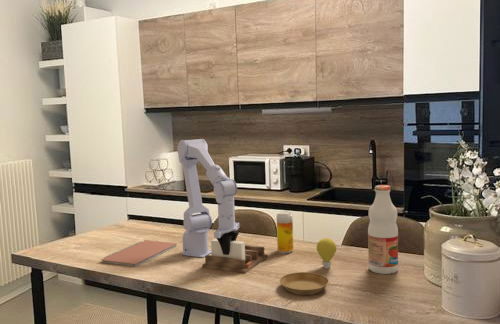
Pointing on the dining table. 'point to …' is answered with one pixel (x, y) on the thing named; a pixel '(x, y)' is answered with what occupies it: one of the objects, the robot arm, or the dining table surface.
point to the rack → (237, 260)
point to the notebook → (138, 253)
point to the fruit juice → (383, 233)
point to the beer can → (284, 232)
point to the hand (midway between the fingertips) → (228, 253)
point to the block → (235, 249)
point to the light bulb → (326, 251)
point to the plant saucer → (304, 283)
